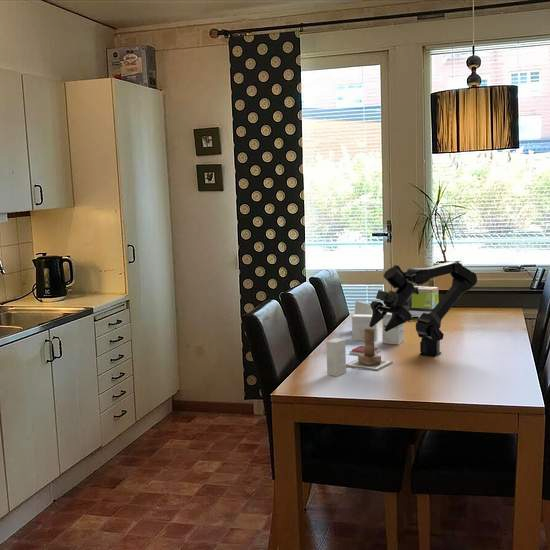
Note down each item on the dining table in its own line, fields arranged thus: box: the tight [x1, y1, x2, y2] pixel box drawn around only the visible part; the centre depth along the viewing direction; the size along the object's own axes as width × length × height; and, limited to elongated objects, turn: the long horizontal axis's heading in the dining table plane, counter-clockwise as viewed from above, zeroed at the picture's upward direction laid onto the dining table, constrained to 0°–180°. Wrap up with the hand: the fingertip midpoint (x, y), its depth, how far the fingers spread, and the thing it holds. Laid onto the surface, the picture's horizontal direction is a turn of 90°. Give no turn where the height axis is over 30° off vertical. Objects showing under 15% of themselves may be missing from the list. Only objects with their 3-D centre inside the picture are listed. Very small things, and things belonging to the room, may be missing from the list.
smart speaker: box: [354, 300, 373, 315], centre depth 311 cm, size 10×9×14 cm
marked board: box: [346, 358, 394, 372], centre depth 253 cm, size 13×13×1 cm
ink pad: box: [348, 345, 381, 356], centre depth 271 cm, size 9×9×2 cm
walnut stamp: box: [357, 329, 382, 366], centre depth 252 cm, size 6×6×12 cm
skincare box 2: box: [351, 313, 379, 342], centre depth 295 cm, size 10×6×10 cm, turn 74°
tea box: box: [403, 285, 440, 319], centre depth 342 cm, size 15×10×15 cm, turn 58°
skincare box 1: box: [325, 337, 347, 377], centre depth 241 cm, size 6×4×12 cm
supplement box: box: [381, 312, 405, 346], centre depth 287 cm, size 7×7×13 cm
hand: (377, 328), depth 253 cm, fingers open, 9 cm apart
